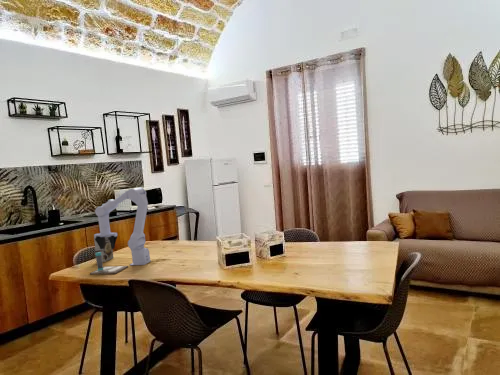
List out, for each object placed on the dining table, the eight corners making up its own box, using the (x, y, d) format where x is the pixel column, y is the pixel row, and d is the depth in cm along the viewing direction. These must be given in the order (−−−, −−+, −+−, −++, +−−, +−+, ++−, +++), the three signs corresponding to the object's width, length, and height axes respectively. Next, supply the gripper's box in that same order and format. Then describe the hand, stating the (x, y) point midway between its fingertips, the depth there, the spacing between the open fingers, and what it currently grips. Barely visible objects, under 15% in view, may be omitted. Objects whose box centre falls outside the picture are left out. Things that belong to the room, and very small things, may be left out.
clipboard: (128, 267, 211) (127, 264, 210) (115, 274, 199) (115, 270, 199) (103, 267, 215) (103, 264, 214) (90, 274, 203) (89, 271, 203)
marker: (104, 269, 207) (102, 251, 206) (101, 271, 204) (98, 253, 203) (100, 269, 208) (97, 252, 207) (96, 271, 205) (94, 253, 204)
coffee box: (105, 261, 229) (102, 236, 227) (96, 262, 230) (93, 236, 229) (114, 257, 238) (110, 232, 236) (105, 258, 239) (101, 233, 238)
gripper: (89, 228, 218) (92, 250, 219) (111, 226, 214) (114, 250, 215) (97, 225, 225) (100, 247, 226) (118, 224, 221) (121, 247, 222)
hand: (107, 248), depth 221 cm, fingers open, 7 cm apart
